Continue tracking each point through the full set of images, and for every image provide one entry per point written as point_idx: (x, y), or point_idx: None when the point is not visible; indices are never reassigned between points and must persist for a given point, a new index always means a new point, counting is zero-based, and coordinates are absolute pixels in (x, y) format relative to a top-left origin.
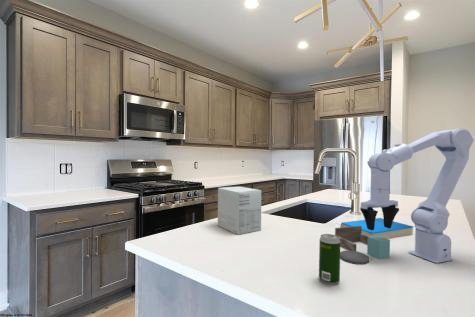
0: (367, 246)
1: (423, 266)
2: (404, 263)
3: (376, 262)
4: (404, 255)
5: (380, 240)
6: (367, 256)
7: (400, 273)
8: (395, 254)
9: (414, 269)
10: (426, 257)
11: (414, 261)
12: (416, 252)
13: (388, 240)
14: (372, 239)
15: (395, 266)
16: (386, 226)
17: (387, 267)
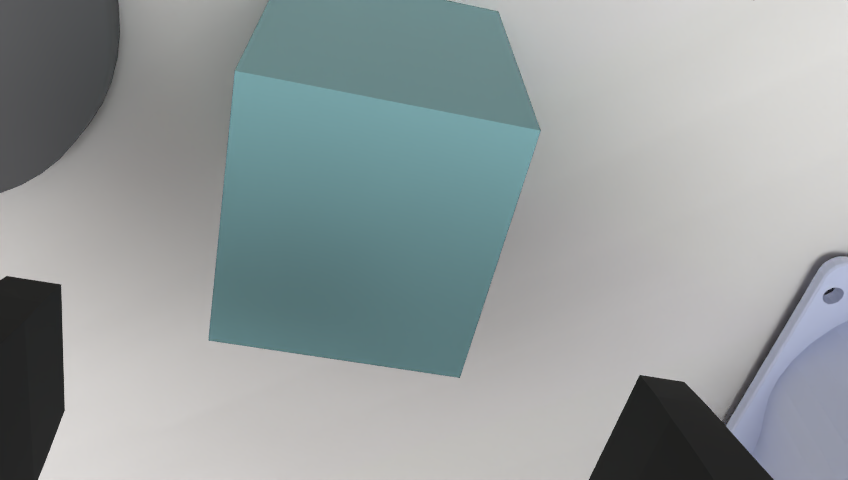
0: (268, 3)
1: (504, 469)
2: None
3: (123, 216)
4: (691, 262)
5: (260, 326)
6: (65, 126)
7: (125, 449)
8: (634, 193)
9: (347, 463)
10: (756, 431)
11: (573, 387)
12: (819, 353)
13: (426, 365)
14: (225, 186)
15: (237, 363)
16: (620, 447)
17: (125, 340)
